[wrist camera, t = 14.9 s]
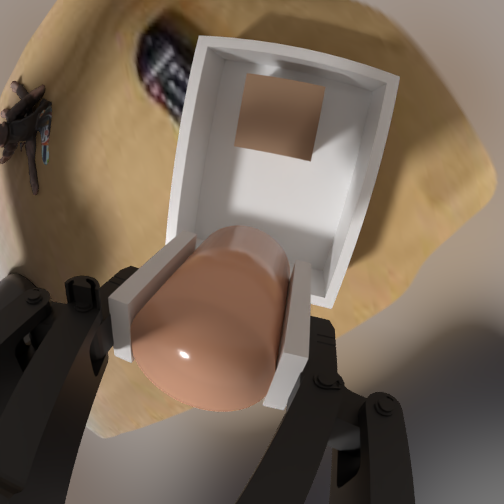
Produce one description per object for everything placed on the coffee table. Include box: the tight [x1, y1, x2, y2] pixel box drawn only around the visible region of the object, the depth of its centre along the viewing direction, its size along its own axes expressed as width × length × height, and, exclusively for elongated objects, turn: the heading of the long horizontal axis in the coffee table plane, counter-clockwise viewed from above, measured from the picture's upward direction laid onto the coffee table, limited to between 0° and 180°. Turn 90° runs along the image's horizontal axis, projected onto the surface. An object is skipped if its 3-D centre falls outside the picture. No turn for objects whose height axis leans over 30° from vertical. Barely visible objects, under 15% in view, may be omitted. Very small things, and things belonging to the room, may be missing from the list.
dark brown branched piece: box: [0, 81, 52, 195], centre depth 26 cm, size 12×10×12 cm
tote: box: [166, 36, 400, 309], centre depth 21 cm, size 14×18×5 cm
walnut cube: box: [234, 73, 325, 162], centre depth 20 cm, size 5×5×5 cm
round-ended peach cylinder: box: [130, 225, 290, 412], centre depth 12 cm, size 5×5×7 cm
